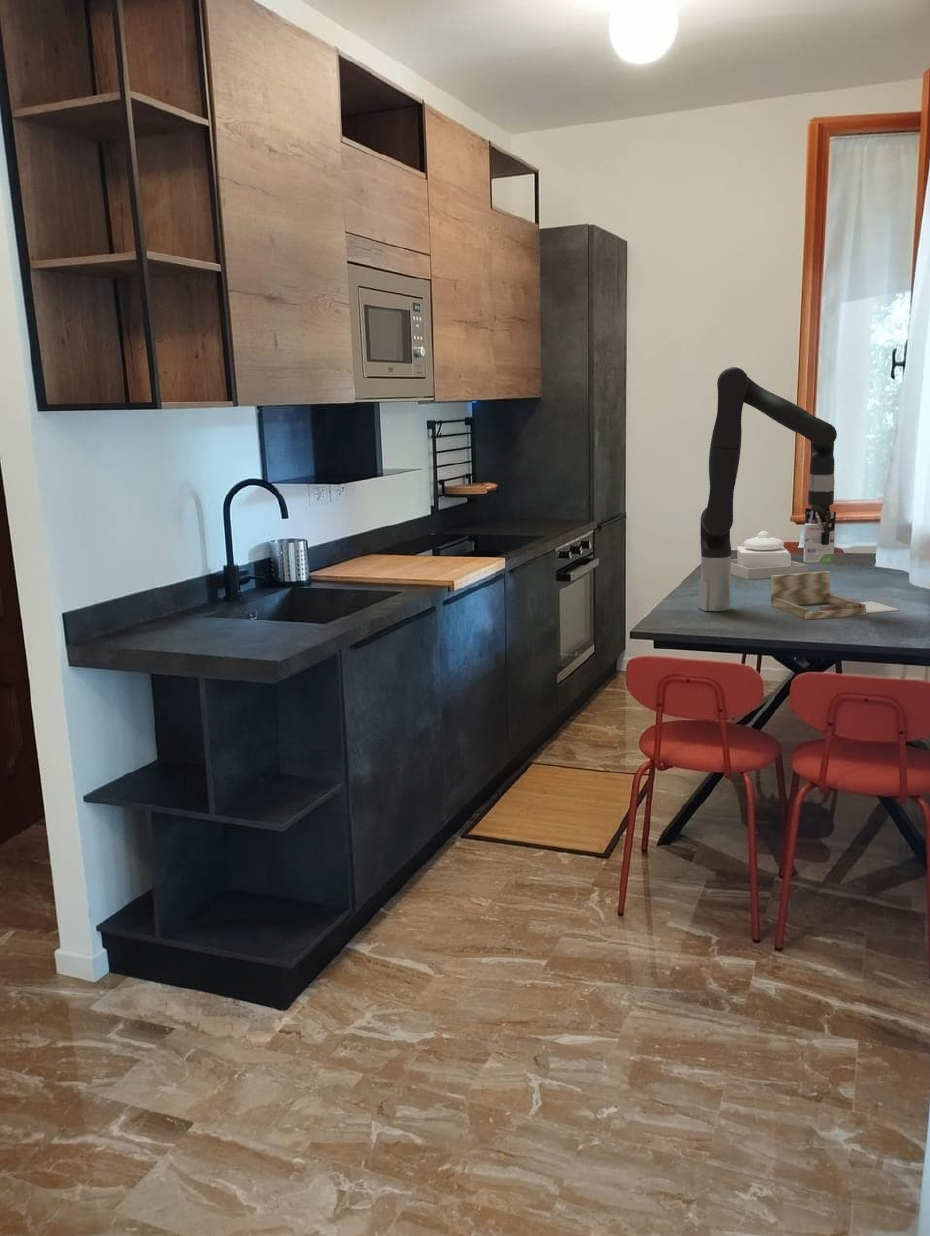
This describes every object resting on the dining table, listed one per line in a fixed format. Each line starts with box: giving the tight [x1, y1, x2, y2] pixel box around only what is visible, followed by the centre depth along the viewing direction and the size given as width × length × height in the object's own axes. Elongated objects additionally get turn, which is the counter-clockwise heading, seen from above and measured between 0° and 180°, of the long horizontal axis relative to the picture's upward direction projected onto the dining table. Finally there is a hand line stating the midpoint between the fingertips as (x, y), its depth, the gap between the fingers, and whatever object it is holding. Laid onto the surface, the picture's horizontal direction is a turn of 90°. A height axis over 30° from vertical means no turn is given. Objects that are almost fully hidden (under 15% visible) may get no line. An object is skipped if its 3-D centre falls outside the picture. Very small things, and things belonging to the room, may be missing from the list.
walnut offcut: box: [819, 604, 845, 611], centre depth 306 cm, size 7×2×2 cm, turn 98°
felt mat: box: [858, 600, 900, 615], centre depth 315 cm, size 12×14×1 cm
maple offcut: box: [846, 603, 859, 609], centre depth 307 cm, size 3×2×3 cm
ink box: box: [802, 523, 836, 563], centre depth 310 cm, size 9×5×12 cm, turn 77°
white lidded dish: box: [735, 530, 792, 568], centre depth 381 cm, size 18×18×16 cm
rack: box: [770, 570, 867, 620], centre depth 313 cm, size 20×22×10 cm
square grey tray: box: [731, 558, 808, 581], centre depth 383 cm, size 23×23×4 cm
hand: (818, 543), depth 310 cm, fingers closed on ink box, 6 cm apart
